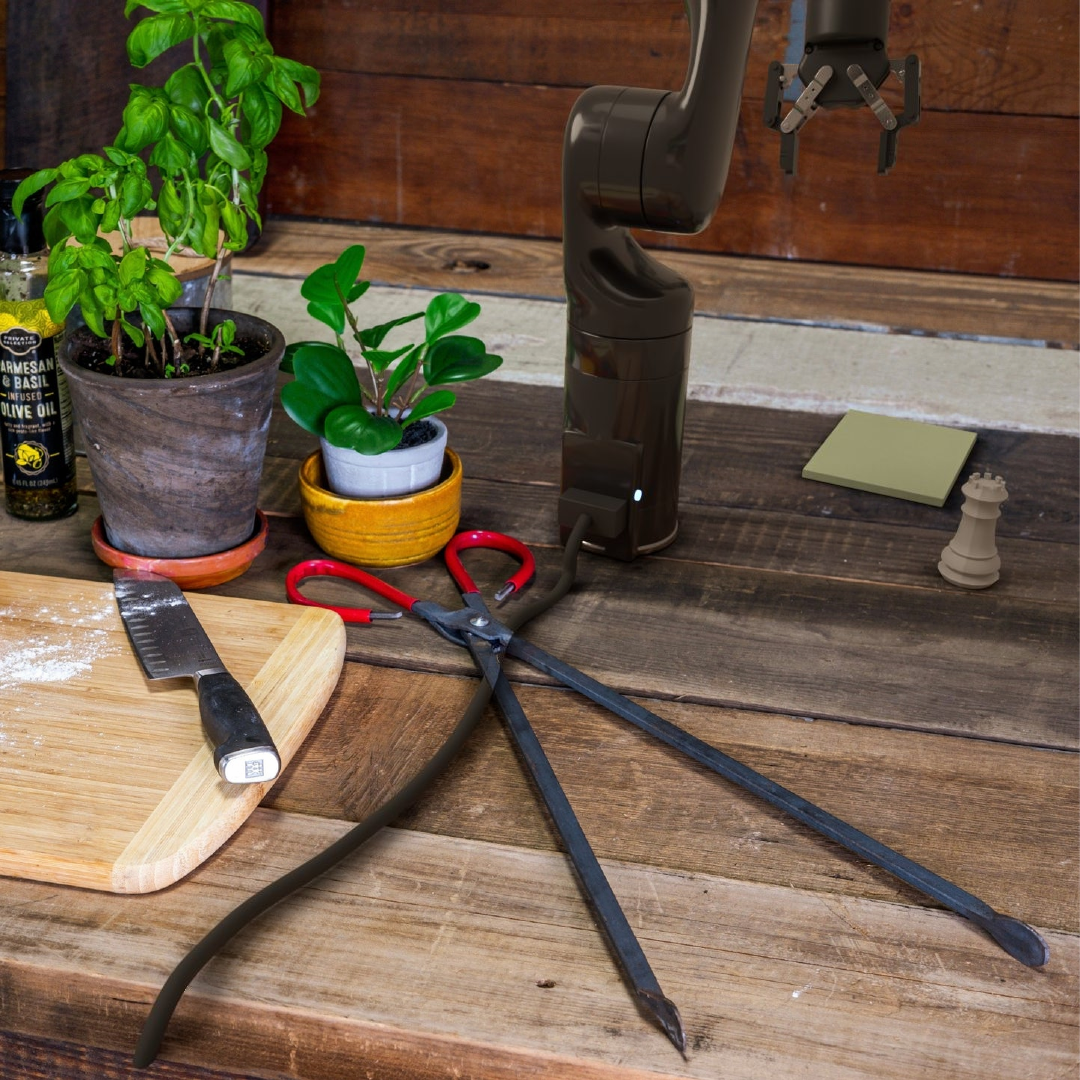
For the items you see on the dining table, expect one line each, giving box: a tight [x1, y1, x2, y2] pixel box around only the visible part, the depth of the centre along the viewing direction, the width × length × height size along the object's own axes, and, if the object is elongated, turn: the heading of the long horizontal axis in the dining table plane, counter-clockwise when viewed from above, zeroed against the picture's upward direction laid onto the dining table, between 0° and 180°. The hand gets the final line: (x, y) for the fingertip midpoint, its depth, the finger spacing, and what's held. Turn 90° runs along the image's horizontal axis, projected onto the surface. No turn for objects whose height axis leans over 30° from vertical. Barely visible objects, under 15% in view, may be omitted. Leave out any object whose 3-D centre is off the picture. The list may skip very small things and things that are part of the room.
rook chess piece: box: [937, 472, 1009, 590], centre depth 92 cm, size 4×4×8 cm
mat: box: [801, 408, 978, 508], centre depth 113 cm, size 16×12×1 cm
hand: (836, 175), depth 118 cm, fingers open, 8 cm apart
